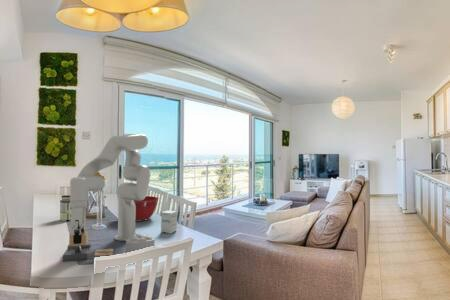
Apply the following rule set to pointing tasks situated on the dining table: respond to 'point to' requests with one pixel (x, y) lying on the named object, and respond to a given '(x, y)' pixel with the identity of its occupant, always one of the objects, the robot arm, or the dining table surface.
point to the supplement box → (169, 221)
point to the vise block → (77, 253)
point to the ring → (83, 239)
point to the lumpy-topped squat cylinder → (139, 242)
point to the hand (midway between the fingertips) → (78, 240)
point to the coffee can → (65, 210)
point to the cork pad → (103, 252)
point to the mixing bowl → (145, 207)
